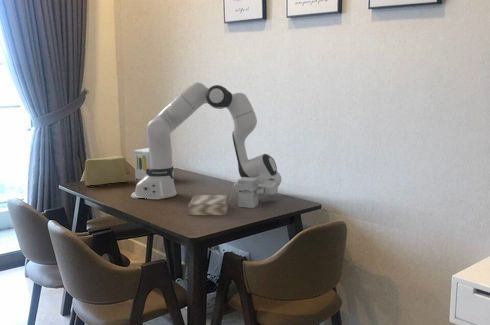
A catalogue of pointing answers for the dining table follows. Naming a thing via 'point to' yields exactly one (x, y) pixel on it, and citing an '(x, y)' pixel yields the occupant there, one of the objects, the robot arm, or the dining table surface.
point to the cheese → (105, 170)
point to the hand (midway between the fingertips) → (247, 191)
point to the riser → (208, 205)
